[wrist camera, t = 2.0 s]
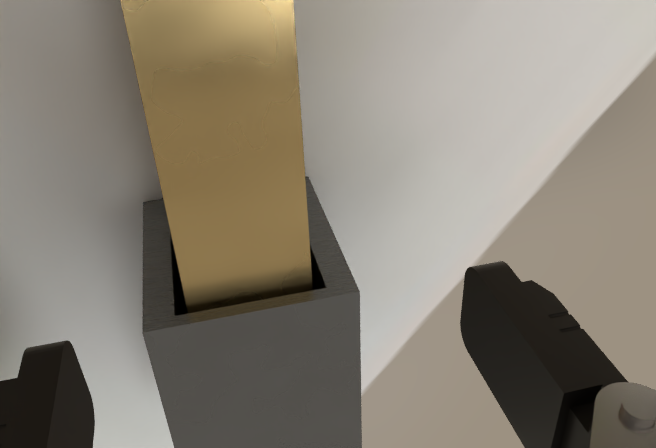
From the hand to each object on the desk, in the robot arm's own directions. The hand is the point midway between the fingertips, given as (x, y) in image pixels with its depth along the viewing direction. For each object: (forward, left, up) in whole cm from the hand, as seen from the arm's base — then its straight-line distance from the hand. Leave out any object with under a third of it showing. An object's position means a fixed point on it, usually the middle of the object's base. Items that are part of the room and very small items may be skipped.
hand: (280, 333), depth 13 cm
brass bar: (0, -3, -11) cm, 11 cm away
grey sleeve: (0, -9, -14) cm, 17 cm away
